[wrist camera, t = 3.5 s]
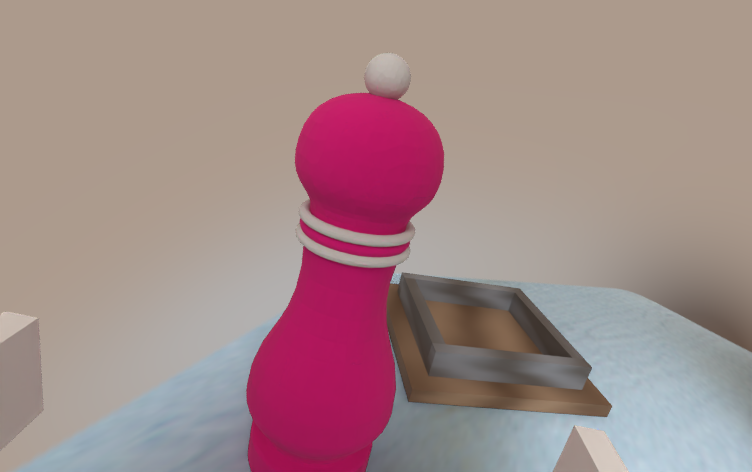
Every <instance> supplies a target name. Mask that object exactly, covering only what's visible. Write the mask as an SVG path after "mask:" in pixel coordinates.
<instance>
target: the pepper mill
mask: <svg viewBox="0 0 752 472" xmlns="http://www.w3.org/2000/svg"><path fill="white" fill-rule="evenodd" d="M410 79H411V74H410V69H409V67H408V65H407V63H406V62H405V61H404V59H402V58H401V57H400V56H398V55H396V54H393V53H384V54H380V55H377V56H376V57H375V58H373V59H372V60H371V61H370V63H369V64H368V66H367V68H366V72H365V84H366V87H367V89H368V91H369V93H353V94H345V95H341V96H338V97H335V98H332V99H330V100H328V101H326V102H325V103H323V104H321V105H320V106H319V107H317V109H315V110H314V111H313V112H312V113H311V115H310V116H309V118H308V119H307V121H306V122H305V124H304V126H303V128H302V131H301V133H300V136H299V139H298V143H297V147H296V154H295V166H296V171H297V174H298V177H299V179H300V181H301V183H302V184H303V186H304V188H305V190H306V191H307V194H308V196H309V198H310V200H307V201H305V202H304V203H303V204H302V205H301V206H300V208H299V215H300V217H301V219H300V223H299V224H298V225H297V228H296V237H297V238H298V240H299V241H300V243H301V244H303V245H304V246H303V258H302V266H301V270H300V274H299V278H298V282H297V286H296V289H295V291H294V294H293V296H292V298H291V300H290V303H289V305H288V307H287V308H286V310H285V311H284V313H283V314H282V316H281V317H280V319H279V320H278V322H277V323H276V324H275V326H274V327H273V328H272V330H271V331H270V332H269V334H268V335H267V336H266V338H265V339H264V340H263V342H262V344H261V346H260V348H259V350H258V352H257V354H256V356H255V358H254V361H253V363H252V366H251V370H250V375H249V379H248V383H247V390H246V391H247V404H248V408H249V411H250V414H251V416H252V418H253V422H252V427H251V433H250V440H249V447H248V461H249V465H250V468H251V471H252V472H365V471H366V467H367V463H368V460H369V456H370V452H371V448H372V442H373V441H374V440H375V439H376V438H377V437H378V436H379V435H380V434H381V433H382V432H383V430H384V428H385V427H386V425H387V423H388V421H389V419H390V416H391V414H392V408H393V402H394V396H395V391H396V381H395V363H394V359H393V354H392V349H391V345H390V340H389V334H388V328H387V297H388V292H389V286H390V281H391V279H392V276H393V273H394V270H395V267H396V265H398V264H400V263H402V262H404V261H405V260H406V259H407V258H408V257H409V254H410V247H409V244H410V241H411V240H412V238H413V237H414V234H415V228H414V226H413V225H412V223H411V222H410V221H409V220H410V219H411V218H412V217H413V216H414V215H415V214H416V213H417V212H419V211H420V210H422V209H423V208H424V207H425V206H427V205H428V204H429V203H430V202H431V200H432V199H433V198H434V196H435V194H436V192H437V190H438V188H439V185H440V183H441V179H442V174H443V168H444V151H443V146H442V142H441V139H440V136H439V134H438V132H437V130H436V129H435V127H434V126H433V124H432V123H431V122H430V121H429V120H428V118H427V117H426V116H425V115H424V114H422V113H421V112H419V111H418V110H417V109H415V108H414V107H411V106H410V105H408V104H406V103H404V102H402V101H400V100H397V99H399V98H400V97H401V96H403V95H404V94H405V93H406V91H407V90H408V88H409V85H410Z"/></svg>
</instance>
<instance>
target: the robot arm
mask: <svg viewBox="0 0 752 472" xmlns="http://www.w3.org/2000/svg"><path fill="white" fill-rule="evenodd" d="M42 411H43V392H42V374H41V355H40V337H39V319H38V318H36V317H32V316H27V315H22V314H17V313H11V312H6V311H5V312H4V313H2V314H0V451H1V450H2V449H3V448H4V447H5V446H6V445H7V444H8V443H9V442H10V441H11V440H13V439H14V438H15V437H16V436H17V435H18V434H19V433H20V432H21V431H22V430H23V429H24V428H25V427H26V426H27V425H28V424H29V423H30V422H32V421H33V420H34V419H35V418H36V417H37V416H38V415H39V414H40V413H41V412H42ZM553 472H629V471H628V470H627V468H626V466H625V465H624V463H623V461H622V460H621V458H620V456H619V455H618V453H617V451H616V450H615V448H614V447H613V445H612V443H611V442H610V440H609V438H608V437H607V435H606V433H605V432H604V431H601V430H596V429H591V428H586V427H581V426H576V425H574V427H573V430H572V432H571V434H570V436H569V438H568V440H567V442H566V445H565V447H564V449H563V451H562V453H561V455H560V457H559V460H558V462H557V464H556V466H555V468H554V470H553Z"/></svg>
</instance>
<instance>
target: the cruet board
mask: <svg viewBox="0 0 752 472" xmlns="http://www.w3.org/2000/svg"><path fill="white" fill-rule="evenodd" d="M387 327H388V331H389V334H390V338H391V341H392V345H393V348H394V352H395V355H396V359H397V363H398V366H399V370H400V373H401V377H402V380H403V384H404V387H405V391H406V394H407V398H408V401H409V402H420V403H433V404H446V405H458V406H471V407H484V408H497V409H510V410H523V411H536V412H549V413H562V414H575V415H588V416H601V417H607V416H608V414H609V412H610V410H611V408H612V405H611V404H610V403H609V402H608V401H607V399H606V398H605V397H604V396H603V395H602V394H601V393H600V391H599V390H598V389H597V388H596V387H595V386H594V385H593V383H592V382H591V381H590V380H589V379H588V376H589V373H590V371H591V369H592V367H591V366H590V365H589V364H588V363H587V362H586V361H585V359H584V358H583V357H582V356H581V355H580V354H579V353H578V352H577V351H576V350H575V349H574V347H573V346H572V345H571V344H570V343H569V342H568V341H567V340H566V339H565V338H564V336H563V335H562V334H561V333H560V332H559V331H558V330H557V329H556V328H555V327H554V326H553V324H552V323H551V322H550V321H549V320H548V319H547V318H546V317H545V316H544V315H543V314H542V312H541V311H540V310H539V309H538V308H537V307H536V306H535V305H534V304H533V303H532V302H531V300H530V299H529V298H528V297H527V296H526V295H525V294H524V293H523V292H522V291H521V290H520V289H518V288H511V287H503V286H496V285H489V284H482V283H474V282H467V281H460V280H453V279H446V278H438V277H431V276H424V275H417V274H410V273H402V275H401V279H400V283H399V285H398V284H390V286H389V292H388V297H387Z"/></svg>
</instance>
